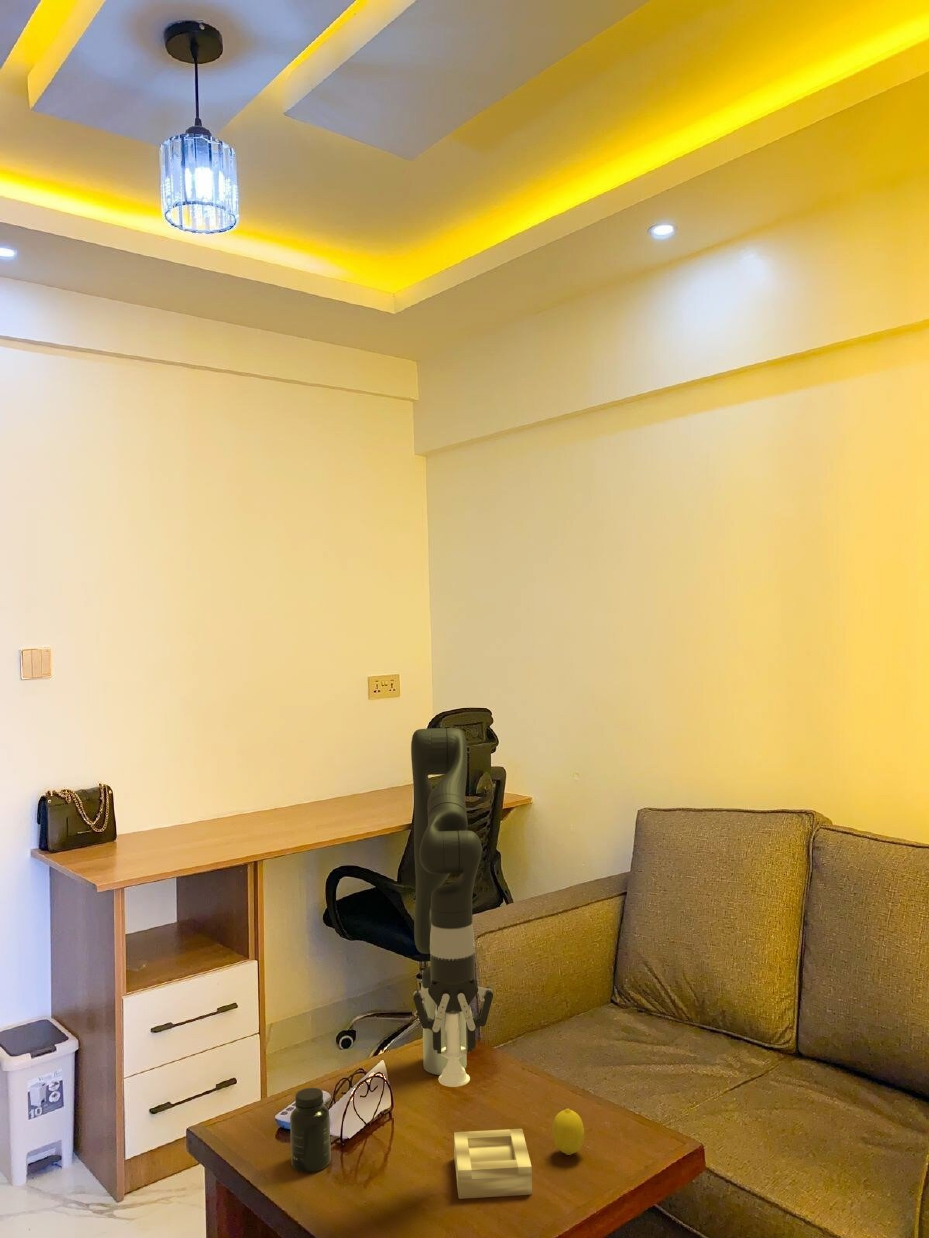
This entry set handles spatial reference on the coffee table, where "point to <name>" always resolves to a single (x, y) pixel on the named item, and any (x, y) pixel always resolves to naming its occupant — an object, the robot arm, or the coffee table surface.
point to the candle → (453, 1053)
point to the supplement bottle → (310, 1132)
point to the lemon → (568, 1131)
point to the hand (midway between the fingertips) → (454, 1050)
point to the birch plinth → (492, 1163)
